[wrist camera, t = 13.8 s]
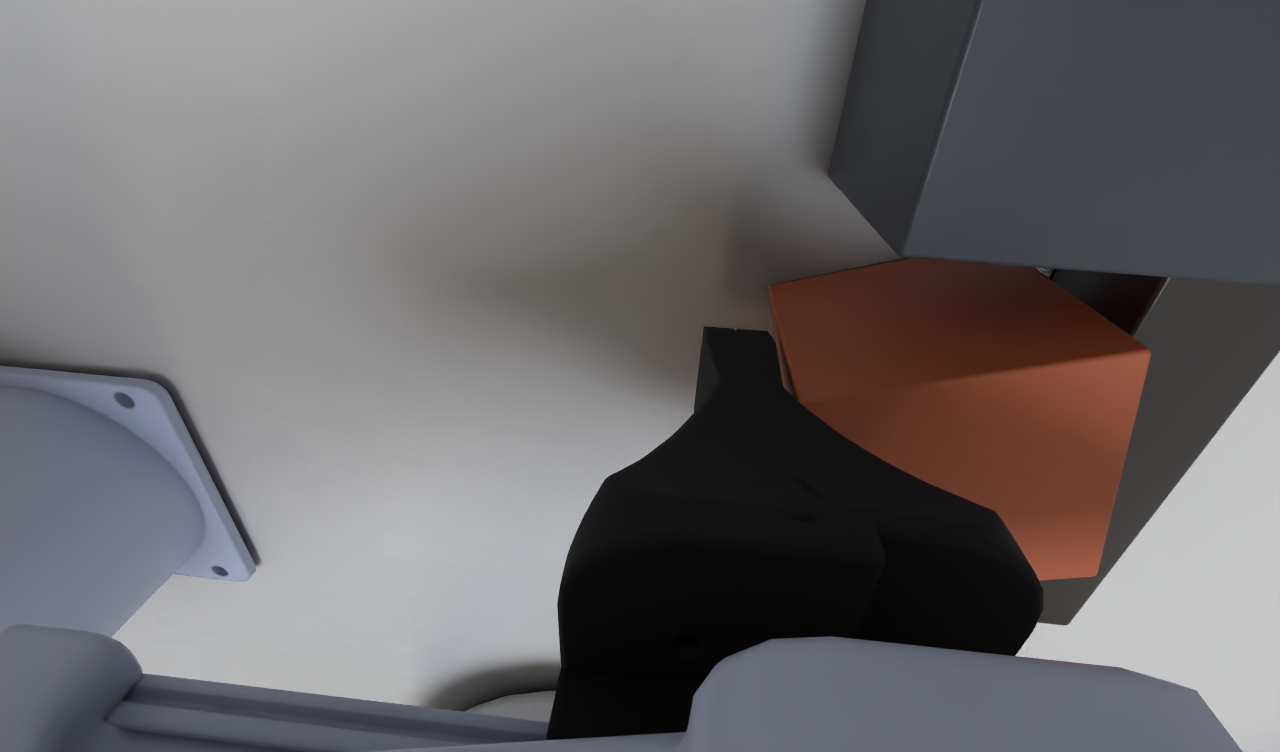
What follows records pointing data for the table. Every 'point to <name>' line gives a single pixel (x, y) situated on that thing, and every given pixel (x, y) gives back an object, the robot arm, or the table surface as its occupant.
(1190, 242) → the charcoal block
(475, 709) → the mug
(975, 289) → the terracotta block
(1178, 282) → the straight edge
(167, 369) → the table surface
